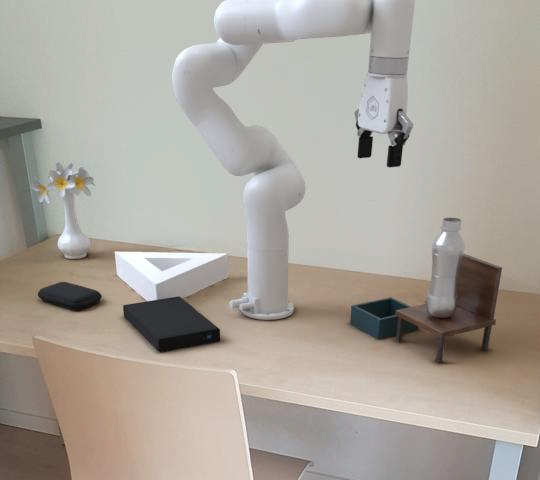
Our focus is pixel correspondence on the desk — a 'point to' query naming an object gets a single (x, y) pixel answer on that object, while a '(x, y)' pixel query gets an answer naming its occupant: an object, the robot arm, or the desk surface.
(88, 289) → the carrying case
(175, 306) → the external hard drive
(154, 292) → the triangle block
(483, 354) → the desk surface
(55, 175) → the flower vase
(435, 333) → the chair
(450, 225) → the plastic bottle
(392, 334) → the rectangular frame
